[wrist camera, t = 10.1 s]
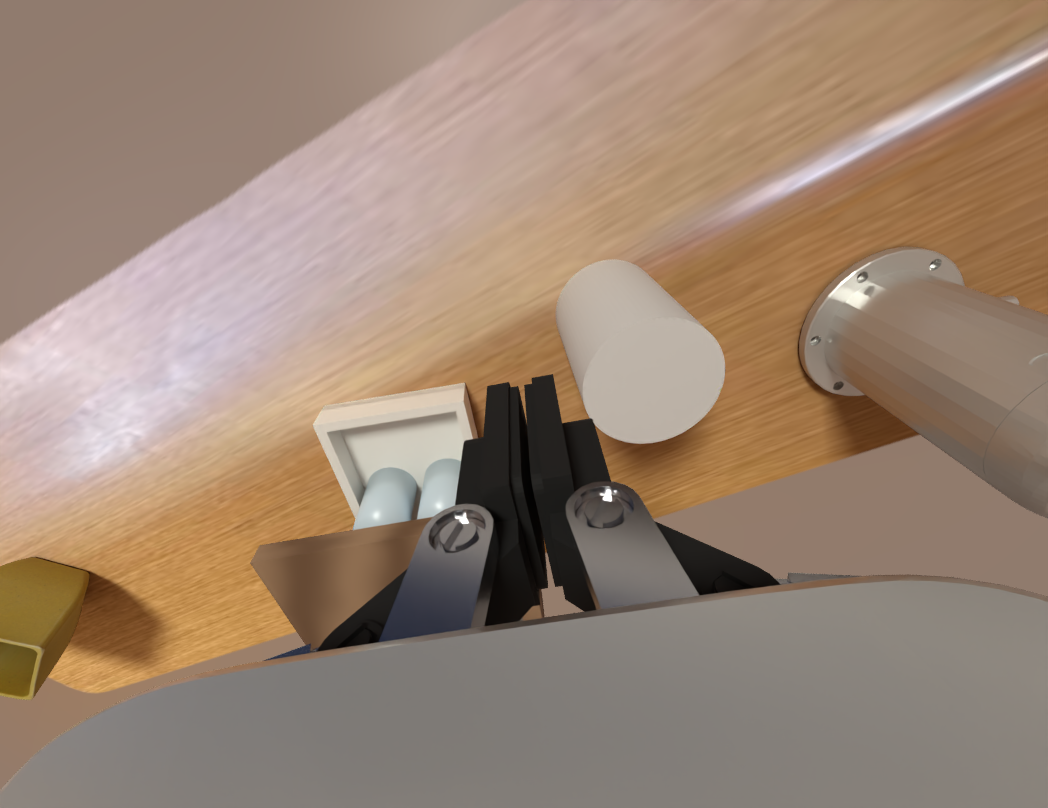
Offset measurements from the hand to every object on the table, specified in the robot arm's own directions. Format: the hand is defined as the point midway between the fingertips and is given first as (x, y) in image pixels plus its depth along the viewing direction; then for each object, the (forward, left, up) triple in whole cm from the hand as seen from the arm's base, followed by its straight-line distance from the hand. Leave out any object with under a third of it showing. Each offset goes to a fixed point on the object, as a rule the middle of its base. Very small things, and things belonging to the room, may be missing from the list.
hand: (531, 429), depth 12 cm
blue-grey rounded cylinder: (+14, +20, -24) cm, 34 cm away
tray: (+11, +19, -25) cm, 33 cm away
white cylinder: (-7, +7, -25) cm, 27 cm away
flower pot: (+50, +25, -25) cm, 61 cm away
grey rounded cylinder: (+9, +20, -24) cm, 33 cm away
